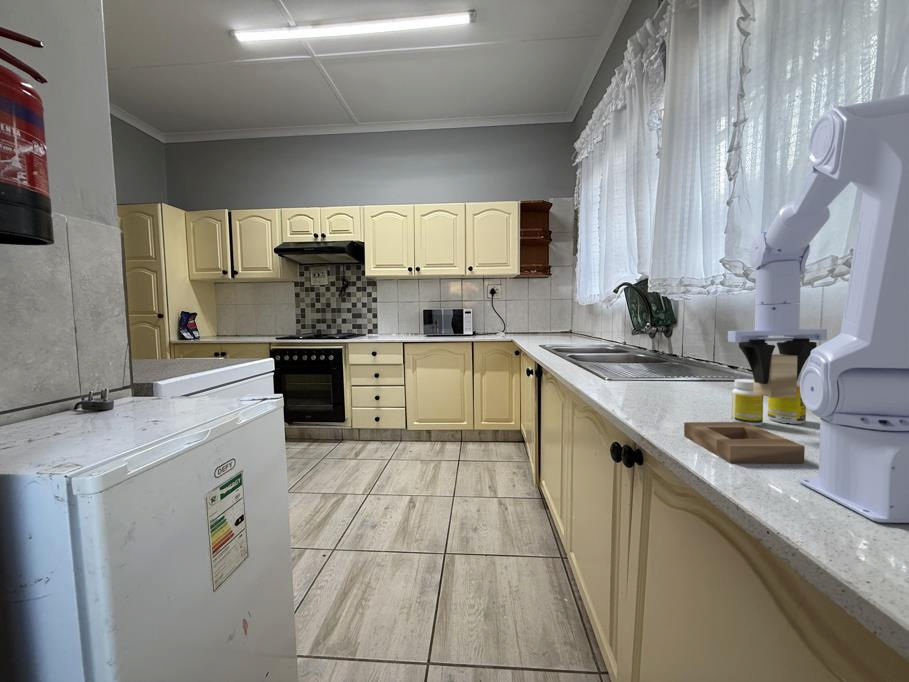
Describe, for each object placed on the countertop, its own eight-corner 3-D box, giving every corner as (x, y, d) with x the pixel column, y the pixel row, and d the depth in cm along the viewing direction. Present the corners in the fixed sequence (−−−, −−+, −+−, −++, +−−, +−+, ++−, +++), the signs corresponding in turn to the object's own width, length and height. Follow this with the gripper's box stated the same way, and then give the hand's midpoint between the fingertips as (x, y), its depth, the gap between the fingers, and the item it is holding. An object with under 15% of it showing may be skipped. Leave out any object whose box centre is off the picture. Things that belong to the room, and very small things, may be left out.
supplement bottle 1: (768, 426, 68) (769, 382, 67) (740, 426, 68) (740, 382, 68) (753, 419, 72) (753, 378, 72) (726, 419, 73) (727, 378, 73)
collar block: (804, 463, 51) (804, 446, 51) (729, 462, 52) (730, 446, 52) (743, 435, 63) (743, 421, 63) (684, 436, 64) (684, 422, 64)
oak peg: (796, 397, 60) (797, 355, 60) (771, 397, 60) (771, 356, 60) (777, 392, 64) (777, 353, 64) (753, 392, 64) (753, 354, 64)
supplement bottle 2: (805, 427, 67) (807, 372, 66) (766, 421, 71) (767, 370, 70) (806, 420, 71) (807, 369, 70) (768, 415, 75) (769, 367, 74)
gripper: (801, 304, 64) (800, 378, 65) (717, 306, 66) (716, 379, 67) (840, 302, 57) (837, 385, 58) (744, 305, 59) (743, 386, 60)
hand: (775, 382), depth 62 cm, fingers closed on oak peg, 4 cm apart
